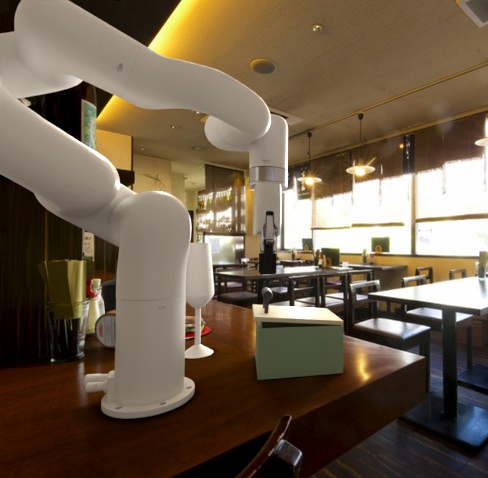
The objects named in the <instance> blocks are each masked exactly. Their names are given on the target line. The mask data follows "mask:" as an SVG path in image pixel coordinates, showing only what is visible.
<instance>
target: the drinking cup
mask: <svg viewBox="0 0 488 478" xmlns="http://www.w3.org/2000/svg"><path fill="white" fill-rule="evenodd" d="M100 286H102V296H103V297H102V298H103V309H104V314H105V313H107V312H109V311H112V310H116V277H114V278H110V279H108V280H106V281H104V282H102V283H101V284H100Z"/></svg>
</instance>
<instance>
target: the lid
mask: <svg viewBox="0 0 488 478" xmlns="http://www.w3.org/2000/svg"><path fill="white" fill-rule="evenodd" d="M261 295H262V297H263V301H262V304H255V303H253V304H252V305H251V309H252V318H253V322H256V321H260V322H283V323H306V324H329V325H343V326H344V320H343V319H341V318H340V316H337V315H336V314H335V313H333V312H332V310H330V309H329V308H327V307H308V306H307V307H306V306H290V305H273V304H270V301H271V300H272V299H273V297H274V295H273V292H272V290H271V288H269V287H267V286H265V287H263V288H262V289H261Z"/></svg>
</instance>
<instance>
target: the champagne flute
mask: <svg viewBox="0 0 488 478" xmlns="http://www.w3.org/2000/svg"><path fill="white" fill-rule="evenodd" d="M212 258H213V257H212V245H211V242H190V246H189V252H188V259H187V268H186V304H188V306H190V307H191V308H193V309H194V317H195V337H194V345H191V346H190V347H189V348H187V349H185V359H200V358H201V359H202V358H206V357H209V356H212V354H213V353H214V350H213V349H211V348H209V347H208V346H205V345H203V344H201V336H202V335H201V318H202V308H204V307H205V306H206V305H207V304H208V303H209V302H210V301H211V300H212V299H213V297H214V295H215V282H214V281H215V280H214V269H213V259H212Z"/></svg>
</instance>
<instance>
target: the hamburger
mask: <svg viewBox="0 0 488 478" xmlns="http://www.w3.org/2000/svg"><path fill="white" fill-rule="evenodd" d="M205 324H206V322H205V321H204V319H203V318H202V317H201V336H204V335H207V334H208V333H210V332H211V330H212V329H211V328H210V327H209V326H205ZM192 338H195V315H194V316H191V315H185V339H192Z"/></svg>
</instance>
